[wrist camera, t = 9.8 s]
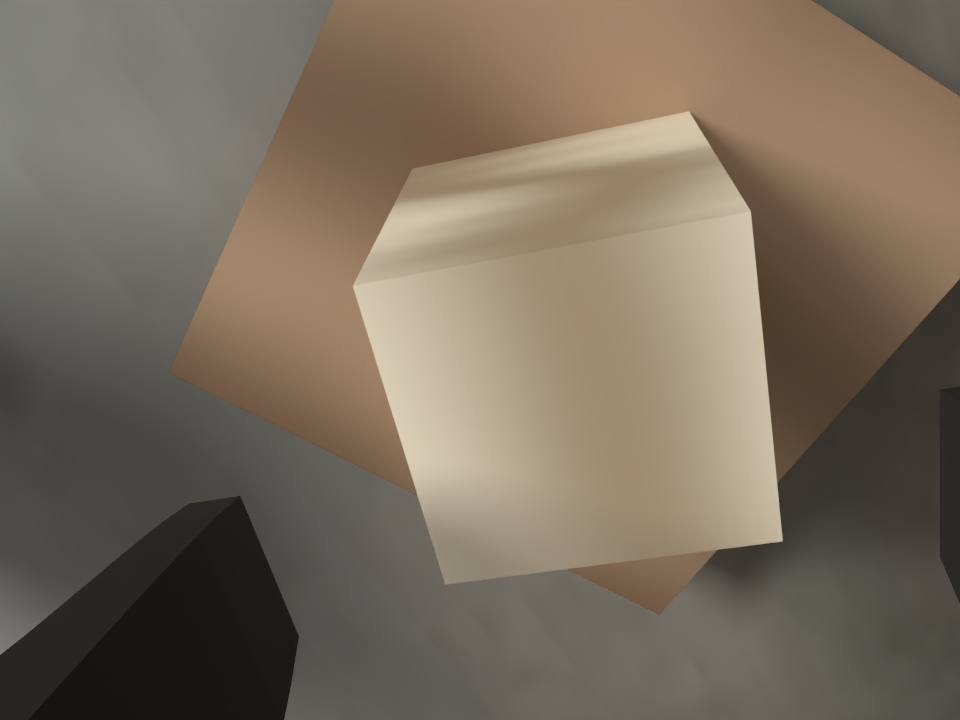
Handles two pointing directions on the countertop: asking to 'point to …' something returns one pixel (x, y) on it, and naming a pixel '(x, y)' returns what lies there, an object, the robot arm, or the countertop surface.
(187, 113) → the countertop surface
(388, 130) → the walnut base
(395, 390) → the ash block
